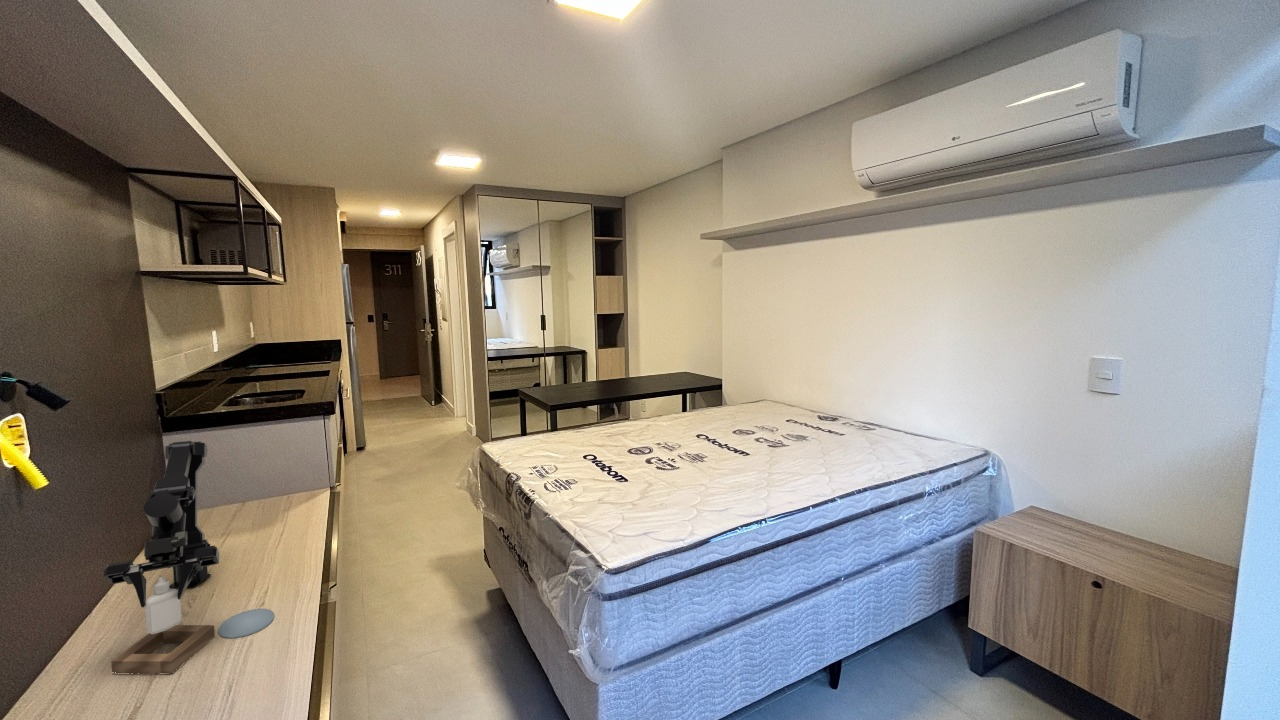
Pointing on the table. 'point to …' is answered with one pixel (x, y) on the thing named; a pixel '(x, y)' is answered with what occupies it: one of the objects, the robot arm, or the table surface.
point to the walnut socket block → (146, 663)
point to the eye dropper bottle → (162, 608)
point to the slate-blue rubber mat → (246, 623)
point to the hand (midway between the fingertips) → (161, 602)
